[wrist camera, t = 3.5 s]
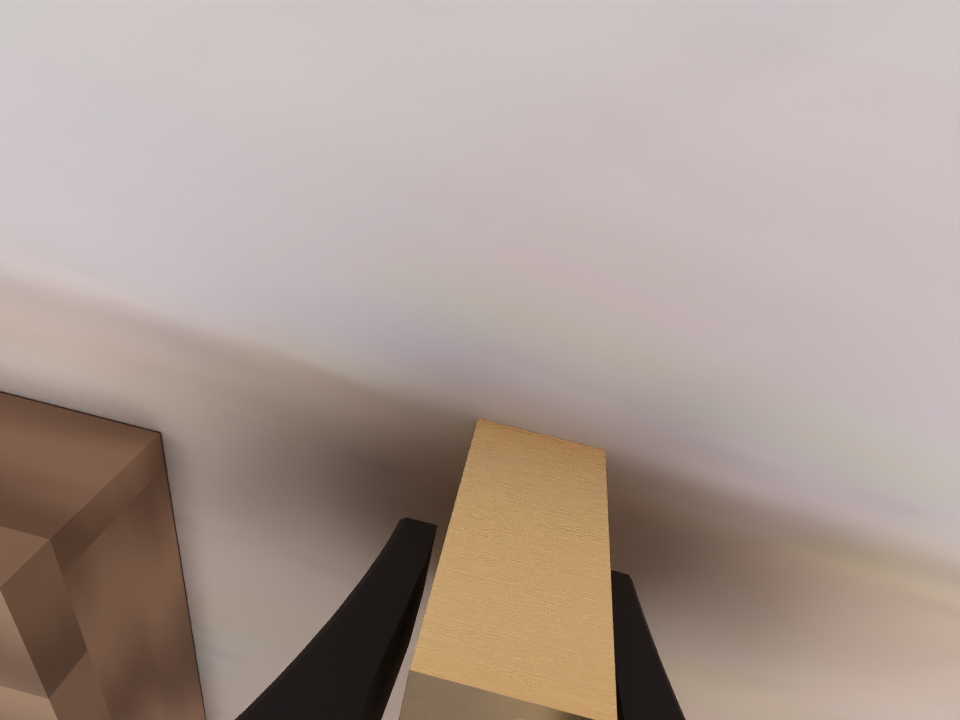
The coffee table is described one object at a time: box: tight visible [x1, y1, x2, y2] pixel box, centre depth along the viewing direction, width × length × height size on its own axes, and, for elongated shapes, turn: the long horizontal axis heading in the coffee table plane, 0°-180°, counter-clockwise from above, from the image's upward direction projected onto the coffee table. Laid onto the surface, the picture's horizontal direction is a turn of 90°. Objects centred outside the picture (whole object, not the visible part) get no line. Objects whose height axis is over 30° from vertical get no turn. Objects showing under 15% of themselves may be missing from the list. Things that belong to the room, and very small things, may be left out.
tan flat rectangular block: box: [399, 419, 617, 720], centre depth 10 cm, size 5×2×5 cm, turn 169°
